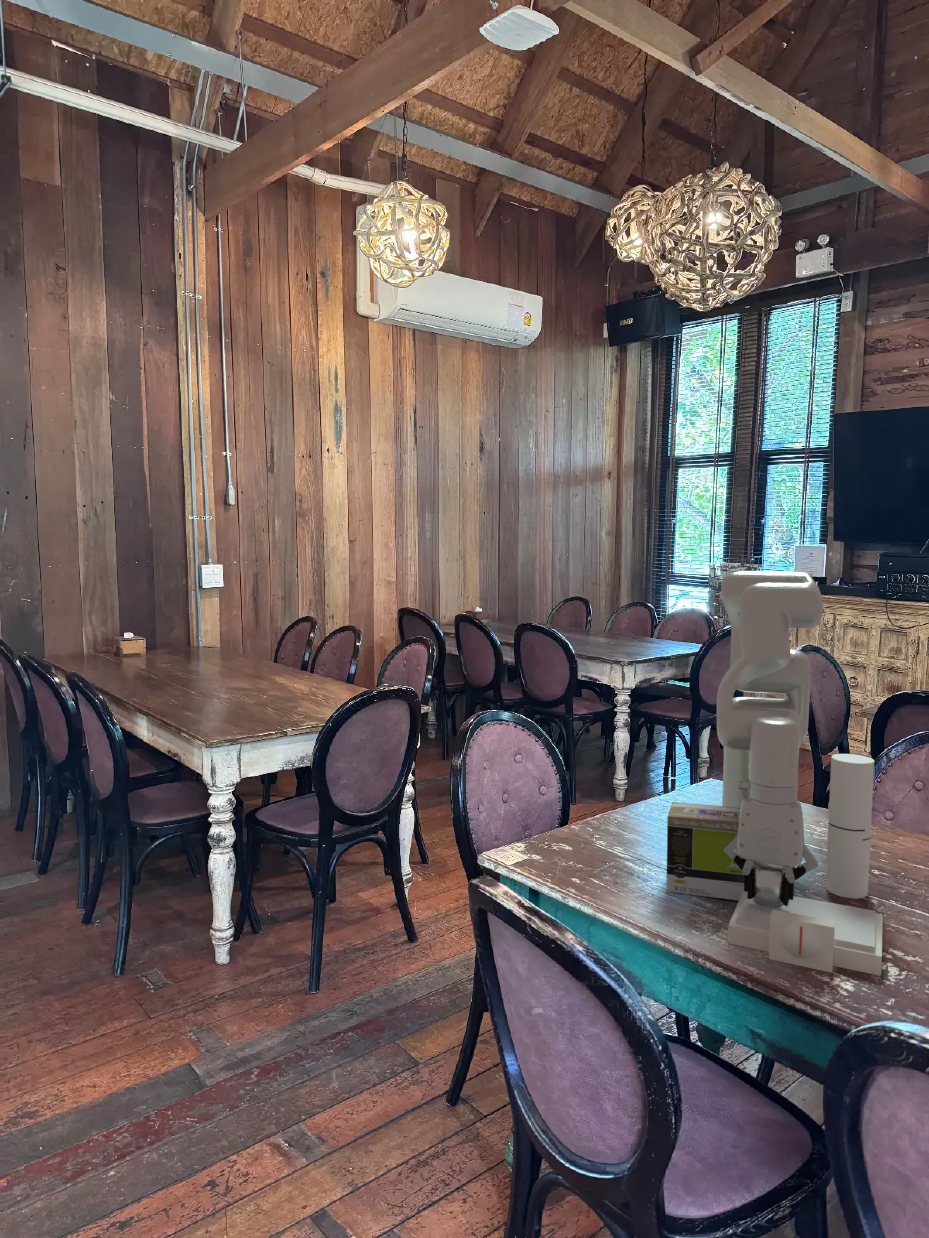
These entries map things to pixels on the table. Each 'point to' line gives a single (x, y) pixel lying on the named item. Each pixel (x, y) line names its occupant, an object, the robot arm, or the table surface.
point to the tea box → (702, 851)
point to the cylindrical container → (849, 825)
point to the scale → (811, 934)
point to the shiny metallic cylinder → (768, 884)
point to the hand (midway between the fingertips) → (768, 898)
